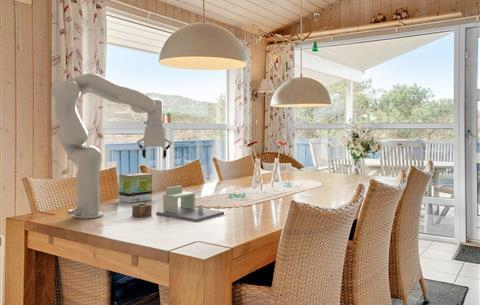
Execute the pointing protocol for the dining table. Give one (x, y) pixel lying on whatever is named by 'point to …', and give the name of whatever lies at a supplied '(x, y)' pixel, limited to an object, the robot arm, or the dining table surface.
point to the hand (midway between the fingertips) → (154, 158)
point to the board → (192, 213)
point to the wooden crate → (142, 210)
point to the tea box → (135, 187)
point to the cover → (172, 199)
